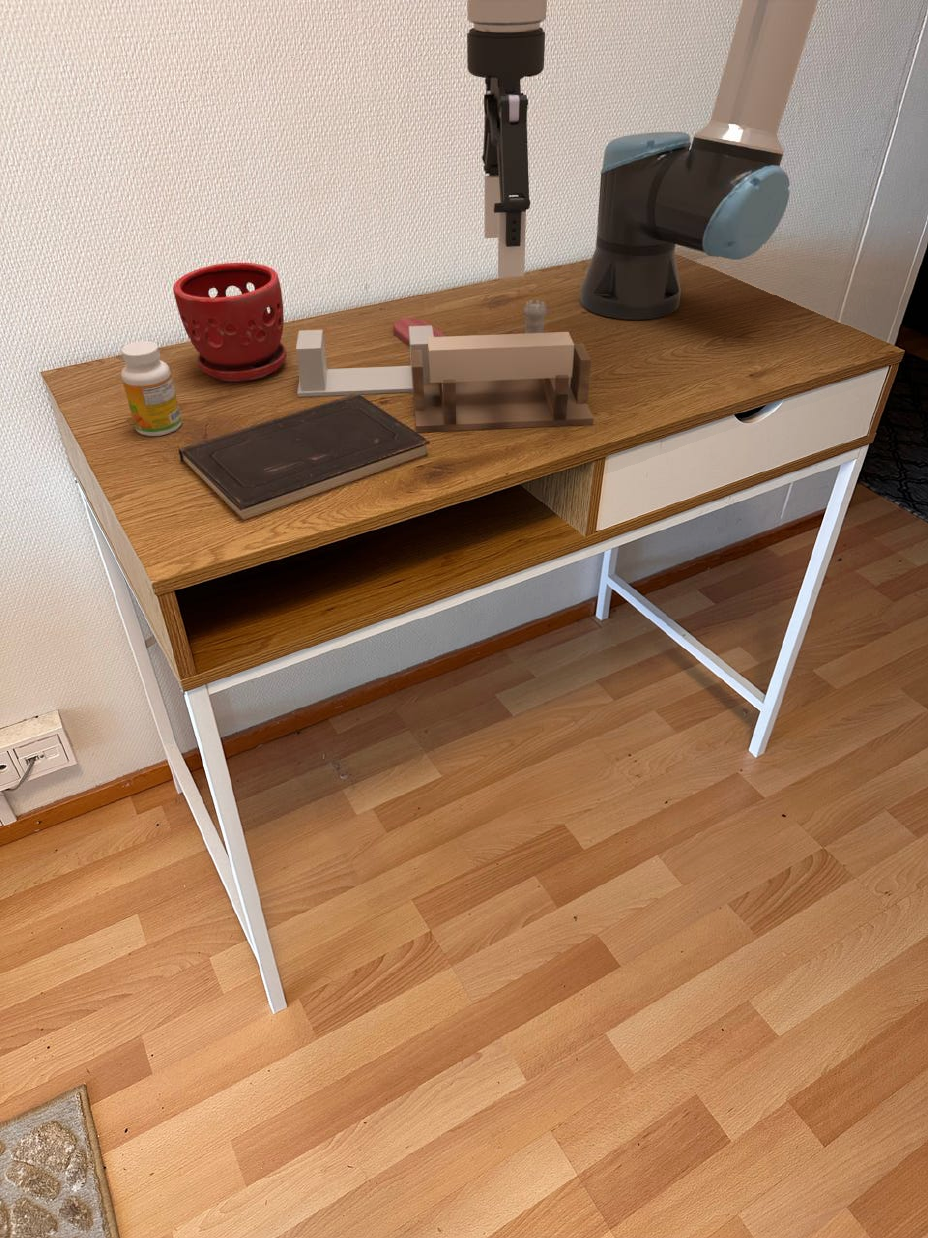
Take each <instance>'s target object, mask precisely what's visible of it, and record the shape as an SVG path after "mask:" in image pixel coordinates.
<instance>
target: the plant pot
mask: <svg viewBox="0 0 928 1238" xmlns="http://www.w3.org/2000/svg"><path fill="white" fill-rule="evenodd" d="M249 283H250V284H252V285H253V287H254V290H252V291H250V290H249V289H248V286H247V285H248V284H249ZM230 287H235V288H237V289H238V290H239V291H240V293H241V294H240V293H239V294H237V295H231V296H230V295H229V296H227V290H228V289H229V288H230ZM211 289H215V290H216V292H217V294H216V295H215V296H214V297H211V296H210V293H209V292H210V290H211ZM172 290H173V296H174V300H175V304H176V307H177V311H178V314H179V318H180V320H181V323H182V325H183V327H184V330H185V332H186V334H187V336H188V338H189V340H190V342H191V344H192V346H193V347H194V349H195V350H196V351H197V353H199V354H198V357H197V364H198V366H199V368H200V369H201V370H202V372H204V373H205V374H207V375H208V376H210V377H212V378H214V379H216V380H221V381H226V382H246V381H250V380H260V379H261V378H264V377H265V376H269V375H270V374H272V373H274V372H276V371H277V370H278V369H279V368H280V367H281V366H282V365H283V364H284V362H285V360H286V357H287V348H286V346H285V344H283V343H282V342H281V341H282V337H283V331H284V325H285V323H284V321H285V319H284V318H285V317H284V301H283V294H282V293H283V292H282V287H281V281H280V278H279V274H278V273H277V272H276V270H274V269H273V268H271V266H266V265H264V264H258V263H254V262H225V263H219V264H213V265H208V266H204V267H200V268H197V269H195V270H193V271H190V272H188V273H186V274H184V275H182V276H181V277H179V278H178V279H177V280H176V281H175V282H174V284H173V288H172ZM268 308H269V311H268Z"/></svg>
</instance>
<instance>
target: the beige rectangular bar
mask: <svg viewBox="0 0 928 1238" xmlns="http://www.w3.org/2000/svg"><path fill="white" fill-rule="evenodd" d="M574 344H575V343H574V341H573V339H572V337H571V335H570V332H569V331H556V332H544V333H525V332H524V333H507V334H506V333H505V334H501V333H500V334H483V335H482V334H481V335H480V334H479V335H477V334H476V335H454V336H447V337H427V345H428V371H429V378H430V383H443V380H455V382H471V381H495V380H518V379H542V378H556V375H568V376H569V377H572V369H573V355H574Z"/></svg>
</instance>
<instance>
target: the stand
mask: <svg viewBox="0 0 928 1238" xmlns="http://www.w3.org/2000/svg"><path fill="white" fill-rule="evenodd" d="M430 325H431V326H409V342H410V348H409V356H410V357H409V358H410V365H399V366H398V365H396V366H371V367H352V368H351V367H349V368H347V367H345V368H328V366H327V359H326V349H325V340H324V332H323V331H324V329H305V330H301V329H300V330H298V335H297V339H296V345H295V346H296V347H295V352H296V360H297V361H296V362H297V368H298V374H299V378H298V386H297V391H296V392H297V397H298V398H302V397H303V398H305V397H308V398H309V397H325V396H351V395H354V394H357V393H358V394H360V395H372V394H373V395H375V394H378V395H379V394H395V393H396V394H398V393H401V392H402V393H413V387H412V384H413V380H412V358H411V350H421V354H422V362H423V379H424V384H434V383H430V378H429V371H428V345H427V337H434V335H433V328H432V326H433V325H432V324H430Z"/></svg>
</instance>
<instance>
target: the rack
mask: <svg viewBox="0 0 928 1238" xmlns="http://www.w3.org/2000/svg"><path fill="white" fill-rule="evenodd" d="M411 358H412V380H413V384H412V387H413V392H412V397H413V400H412V401H413V408H414V409H413V411H414V420H415V421H414V422H415V432H417V433H432V432H433V433H434V432H435V433H436V432H456V431H457V432H458V431H460V432H461V431H477V430H500V429H501V430H502V429H503V430H504V429H523V428H524V429H525V428H542V427H543V428H546V427H566V426H586V425H587V426H588V425H589V426H592V425H594V419H595V418H594V416H593V413H592V412H591V409H590V406H589V404H588V397H589V386H590V385H589V384H590V376H591V375H590V374H591V364H592V360H591V357H590V354H589V353H588V351H587V349H586V346H585V344H584V343H574V355H573V369H572V377H569V376H568V375H556V378H542V379H518V380H495V381H471V382H455V380H443V383H434V384H424V379H423V362H422V354H421V350H411Z"/></svg>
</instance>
